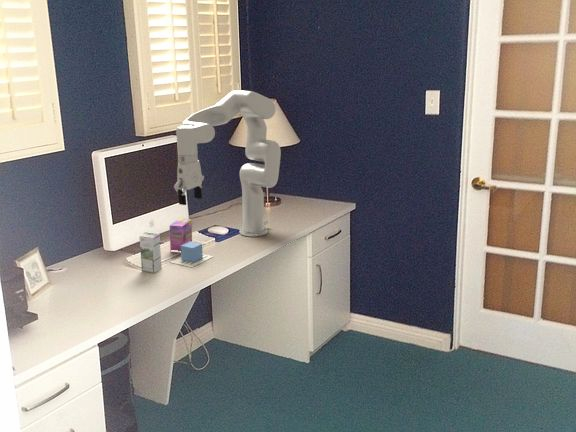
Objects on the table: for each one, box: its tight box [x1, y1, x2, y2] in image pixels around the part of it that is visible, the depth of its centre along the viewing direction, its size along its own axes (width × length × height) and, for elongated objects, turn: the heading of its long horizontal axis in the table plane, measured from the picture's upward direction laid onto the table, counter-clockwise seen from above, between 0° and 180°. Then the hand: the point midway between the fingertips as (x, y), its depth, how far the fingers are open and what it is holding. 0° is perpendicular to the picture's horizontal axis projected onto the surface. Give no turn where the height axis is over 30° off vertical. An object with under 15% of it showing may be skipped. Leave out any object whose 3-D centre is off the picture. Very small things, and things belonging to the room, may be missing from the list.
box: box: [169, 217, 193, 251], centre depth 279 cm, size 10×6×12 cm, turn 165°
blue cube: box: [180, 241, 204, 263], centre depth 267 cm, size 6×6×6 cm
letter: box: [169, 253, 214, 268], centre depth 268 cm, size 14×11×1 cm
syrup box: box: [139, 231, 162, 274], centre depth 255 cm, size 6×6×14 cm
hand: (190, 201), depth 262 cm, fingers open, 9 cm apart
